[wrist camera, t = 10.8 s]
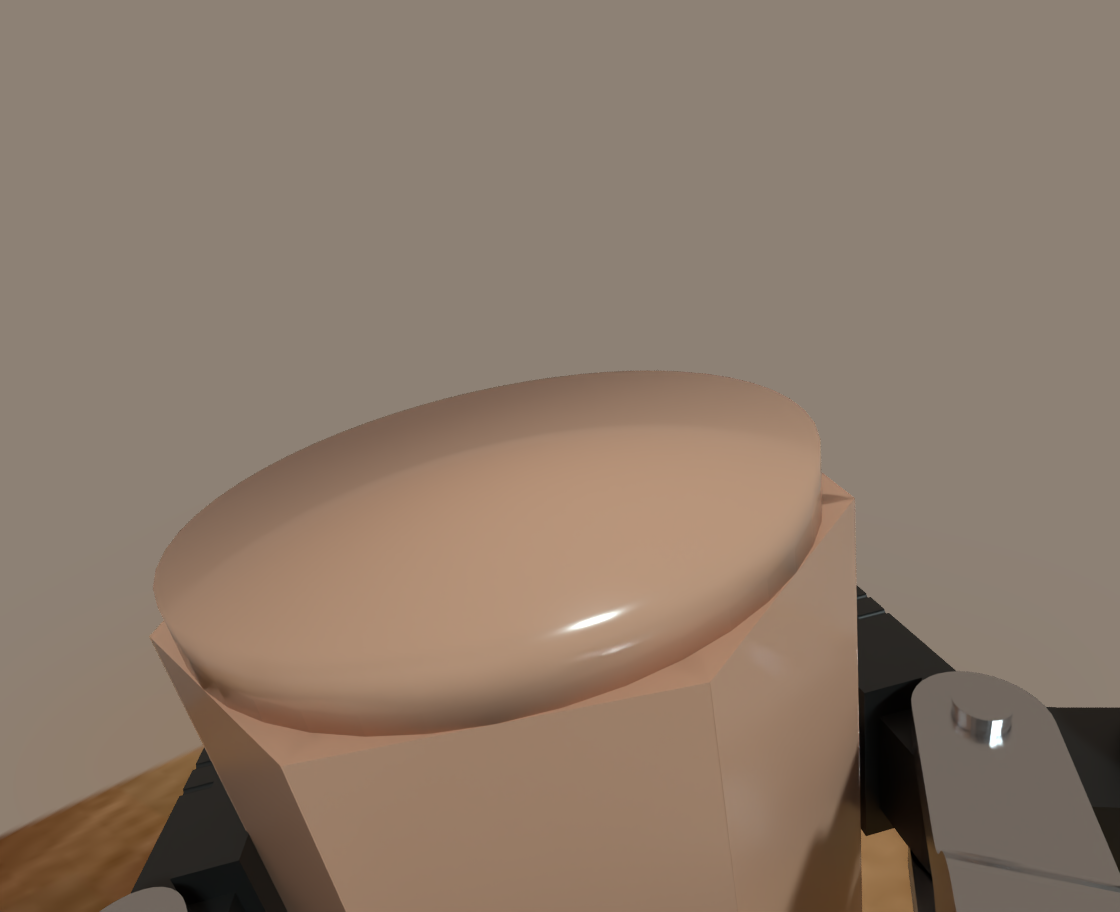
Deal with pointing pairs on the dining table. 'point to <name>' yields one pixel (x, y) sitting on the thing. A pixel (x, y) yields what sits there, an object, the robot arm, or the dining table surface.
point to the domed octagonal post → (536, 654)
